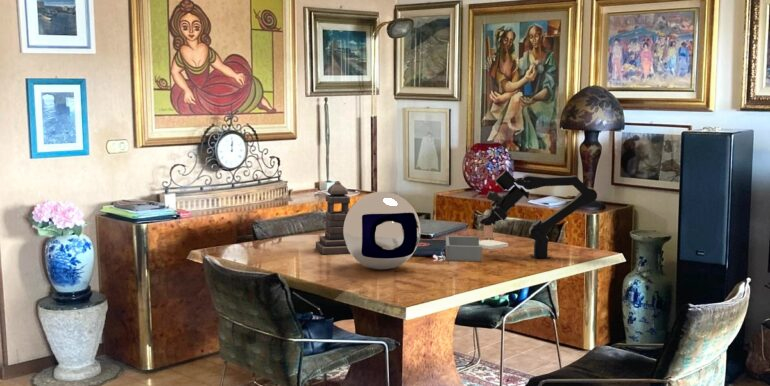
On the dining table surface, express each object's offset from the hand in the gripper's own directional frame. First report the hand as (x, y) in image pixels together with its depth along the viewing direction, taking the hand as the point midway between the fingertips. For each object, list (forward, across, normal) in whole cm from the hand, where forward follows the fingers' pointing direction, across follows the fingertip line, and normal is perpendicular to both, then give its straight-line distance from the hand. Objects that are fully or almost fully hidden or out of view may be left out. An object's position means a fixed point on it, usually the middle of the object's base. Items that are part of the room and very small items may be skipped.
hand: (484, 224), depth 373 cm
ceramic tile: (+7, -22, +12) cm, 26 cm away
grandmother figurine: (+4, 0, +6) cm, 7 cm away
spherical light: (+38, +32, -20) cm, 53 cm away
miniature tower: (+53, -2, -35) cm, 63 cm away
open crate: (+15, 0, +4) cm, 16 cm away
